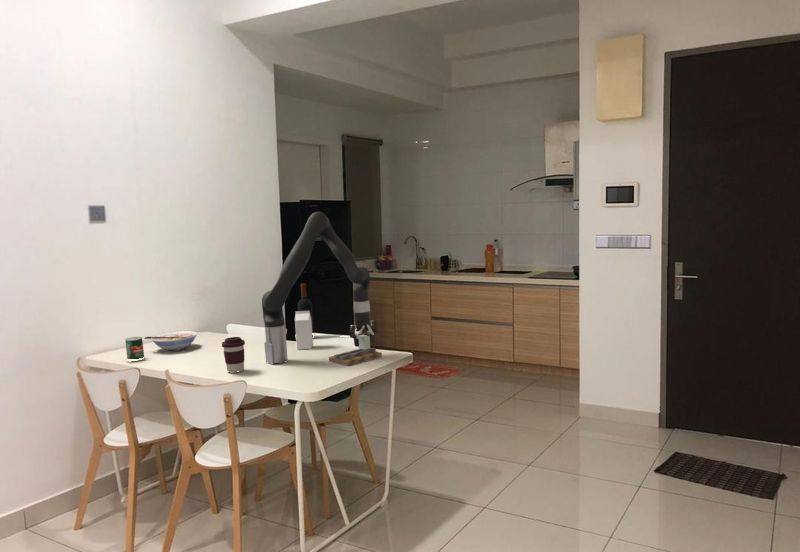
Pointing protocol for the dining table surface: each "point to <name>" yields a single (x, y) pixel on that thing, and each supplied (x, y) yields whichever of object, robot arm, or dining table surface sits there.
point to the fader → (364, 342)
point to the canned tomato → (134, 348)
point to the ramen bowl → (174, 340)
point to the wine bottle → (305, 303)
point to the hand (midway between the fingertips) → (364, 344)
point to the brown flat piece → (355, 356)
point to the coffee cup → (234, 353)
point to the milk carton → (303, 330)
